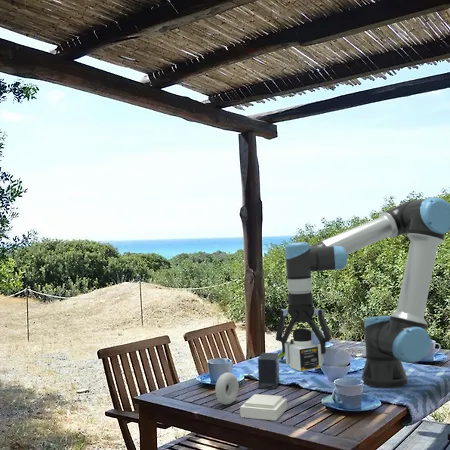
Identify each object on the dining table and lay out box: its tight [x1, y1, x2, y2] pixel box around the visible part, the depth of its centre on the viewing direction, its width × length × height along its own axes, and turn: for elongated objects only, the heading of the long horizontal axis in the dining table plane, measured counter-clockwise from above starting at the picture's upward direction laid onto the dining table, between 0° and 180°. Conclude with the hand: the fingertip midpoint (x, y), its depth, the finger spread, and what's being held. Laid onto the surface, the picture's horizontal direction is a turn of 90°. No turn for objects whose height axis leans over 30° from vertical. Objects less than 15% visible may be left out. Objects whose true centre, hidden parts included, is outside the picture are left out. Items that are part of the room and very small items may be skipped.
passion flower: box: [277, 338, 295, 362], centre depth 226 cm, size 11×11×12 cm
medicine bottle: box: [288, 327, 321, 373], centre depth 169 cm, size 7×7×12 cm
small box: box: [257, 352, 280, 390], centre depth 194 cm, size 11×6×10 cm, turn 168°
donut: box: [214, 372, 240, 406], centre depth 174 cm, size 10×4×10 cm, turn 141°
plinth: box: [239, 393, 288, 421], centre depth 164 cm, size 11×11×4 cm
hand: (304, 363), depth 169 cm, fingers closed on medicine bottle, 10 cm apart
